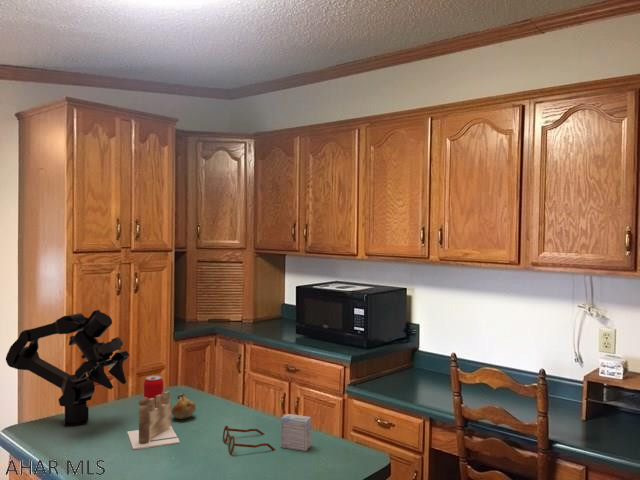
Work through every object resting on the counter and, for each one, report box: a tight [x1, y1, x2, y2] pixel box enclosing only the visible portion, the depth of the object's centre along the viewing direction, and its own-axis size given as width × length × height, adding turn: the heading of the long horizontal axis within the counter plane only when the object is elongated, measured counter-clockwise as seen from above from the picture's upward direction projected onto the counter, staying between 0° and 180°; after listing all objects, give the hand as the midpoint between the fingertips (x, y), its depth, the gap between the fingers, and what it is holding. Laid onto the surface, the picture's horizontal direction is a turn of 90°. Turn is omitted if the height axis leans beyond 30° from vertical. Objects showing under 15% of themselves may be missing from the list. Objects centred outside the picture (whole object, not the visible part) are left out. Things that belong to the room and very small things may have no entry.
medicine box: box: [280, 413, 312, 452], centre depth 159 cm, size 8×4×9 cm, turn 71°
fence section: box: [149, 391, 172, 438], centre depth 166 cm, size 10×1×11 cm, turn 160°
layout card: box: [126, 425, 181, 451], centre depth 164 cm, size 13×14×1 cm
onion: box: [171, 392, 196, 420], centre depth 181 cm, size 8×8×8 cm
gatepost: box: [138, 396, 150, 444], centre depth 159 cm, size 3×3×14 cm
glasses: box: [222, 425, 276, 455], centre depth 160 cm, size 13×13×5 cm
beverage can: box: [143, 374, 164, 408], centre depth 185 cm, size 6×6×12 cm
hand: (118, 385), depth 169 cm, fingers open, 6 cm apart
